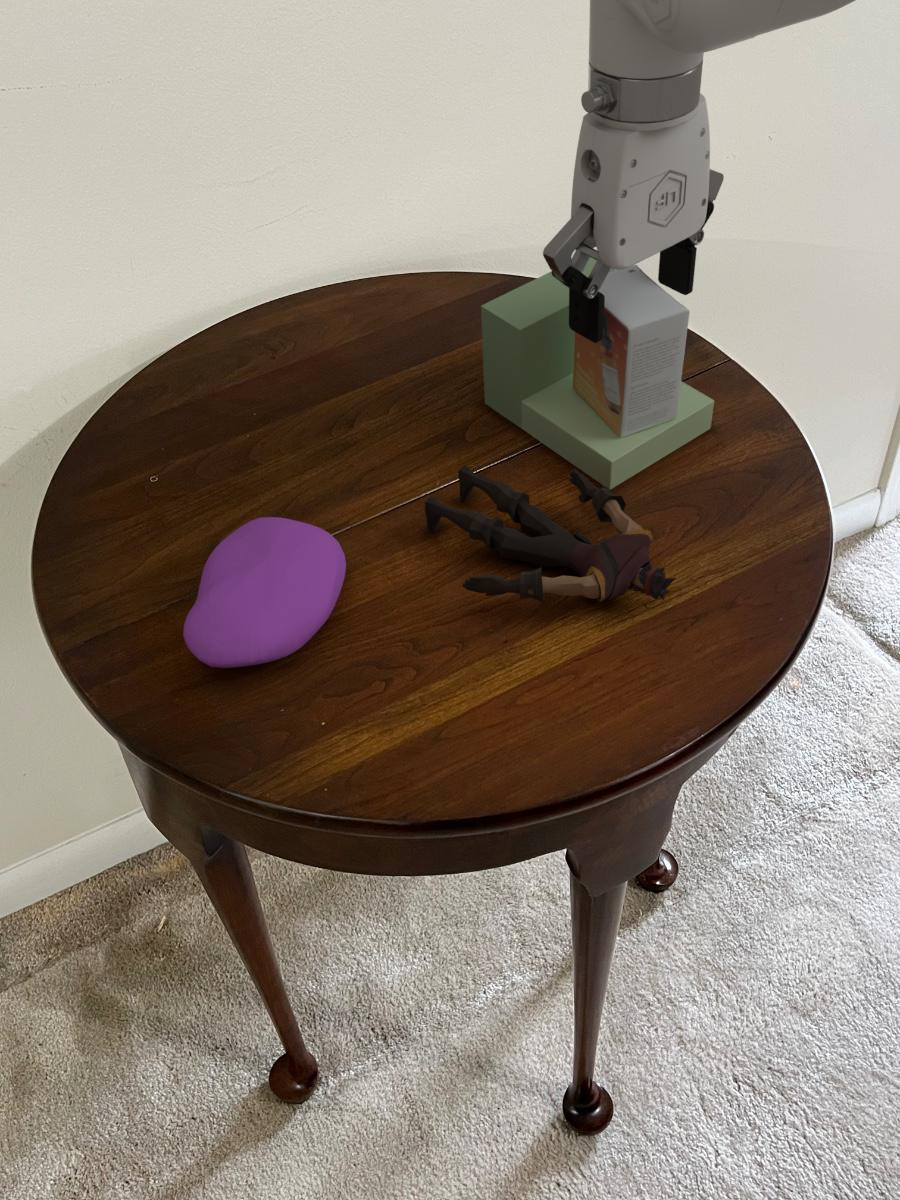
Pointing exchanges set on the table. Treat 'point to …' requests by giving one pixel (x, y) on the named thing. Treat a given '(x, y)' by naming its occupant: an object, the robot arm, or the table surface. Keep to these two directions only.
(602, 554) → the figurine
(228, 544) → the blob
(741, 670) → the table surface
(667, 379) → the small box
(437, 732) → the table surface
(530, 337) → the green l-shaped step
